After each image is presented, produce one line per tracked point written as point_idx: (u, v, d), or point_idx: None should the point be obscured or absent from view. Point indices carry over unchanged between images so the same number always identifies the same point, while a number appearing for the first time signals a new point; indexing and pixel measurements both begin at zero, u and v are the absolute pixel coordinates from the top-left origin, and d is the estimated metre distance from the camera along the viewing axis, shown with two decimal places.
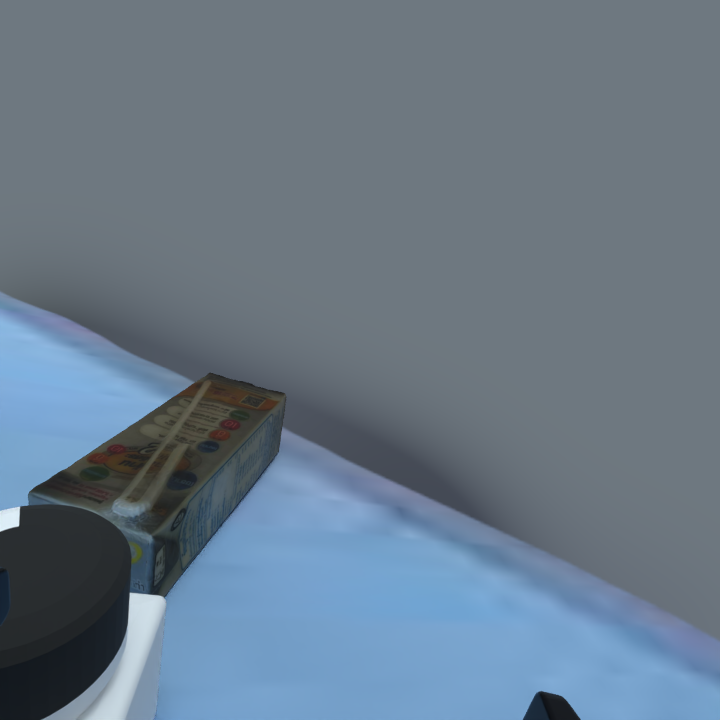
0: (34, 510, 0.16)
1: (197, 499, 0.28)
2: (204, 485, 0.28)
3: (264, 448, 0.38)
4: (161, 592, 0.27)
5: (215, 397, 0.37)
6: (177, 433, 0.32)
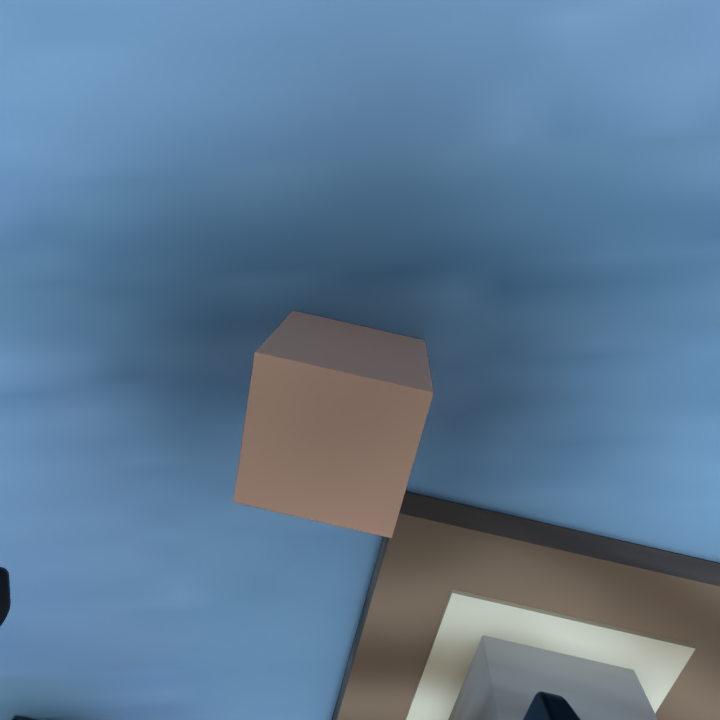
0: None
1: None
2: None
3: None
4: None
5: None
6: None
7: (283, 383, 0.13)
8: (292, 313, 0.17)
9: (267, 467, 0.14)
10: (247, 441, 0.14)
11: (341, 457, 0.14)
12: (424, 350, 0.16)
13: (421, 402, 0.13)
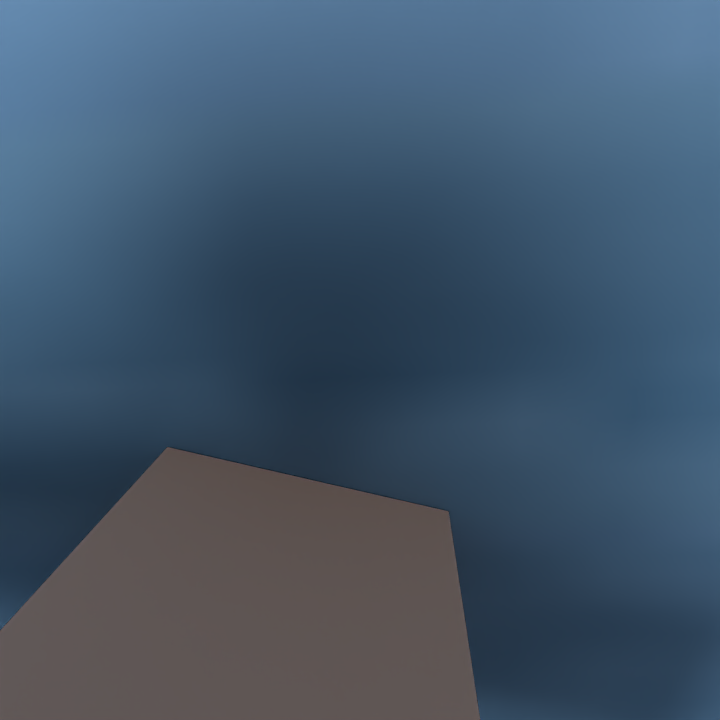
0: None
1: None
2: None
3: None
4: None
5: None
6: None
7: None
8: (158, 463, 0.08)
9: None
10: None
11: None
12: (451, 570, 0.07)
13: None
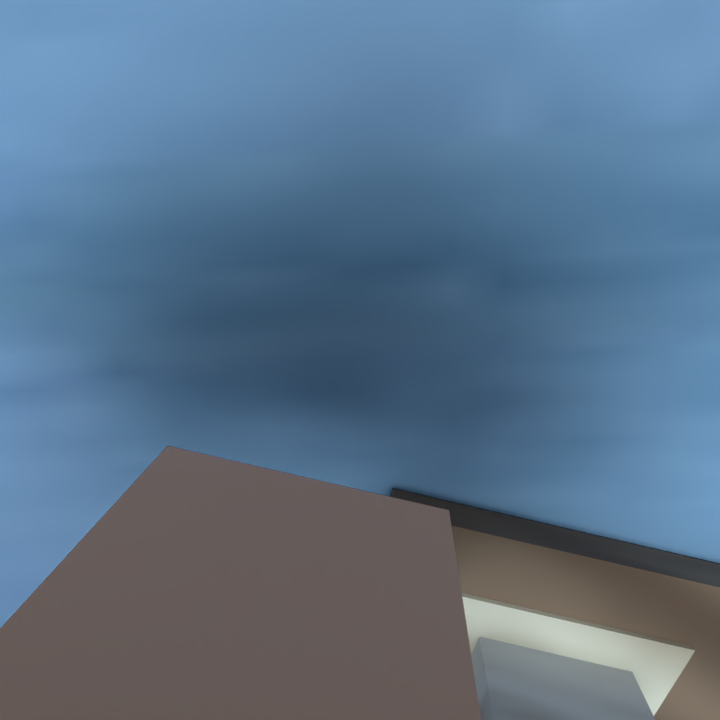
0: None
1: None
2: None
3: None
4: None
5: None
6: None
7: None
8: (158, 461, 0.08)
9: None
10: None
11: None
12: (452, 569, 0.07)
13: None
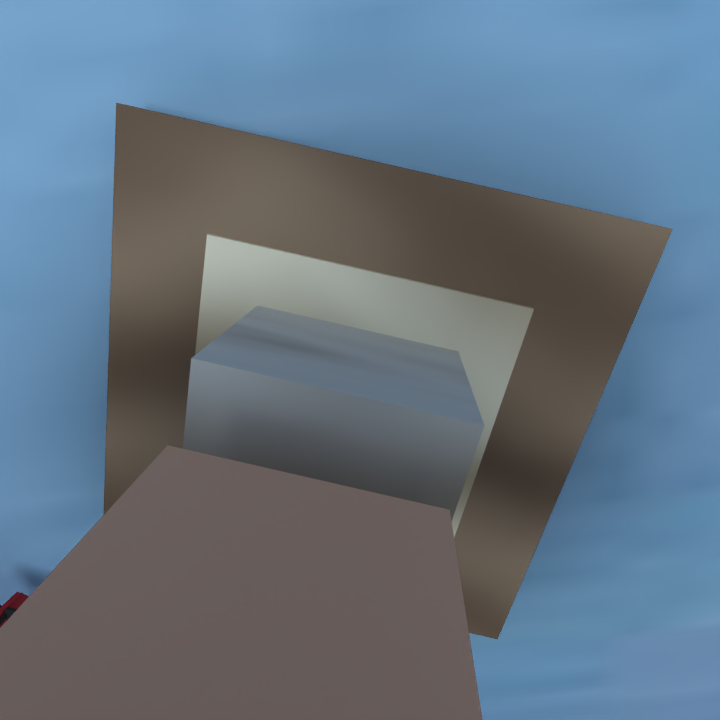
0: None
1: None
2: None
3: None
4: None
5: None
6: None
7: None
8: (158, 461, 0.08)
9: None
10: None
11: None
12: (452, 569, 0.07)
13: None
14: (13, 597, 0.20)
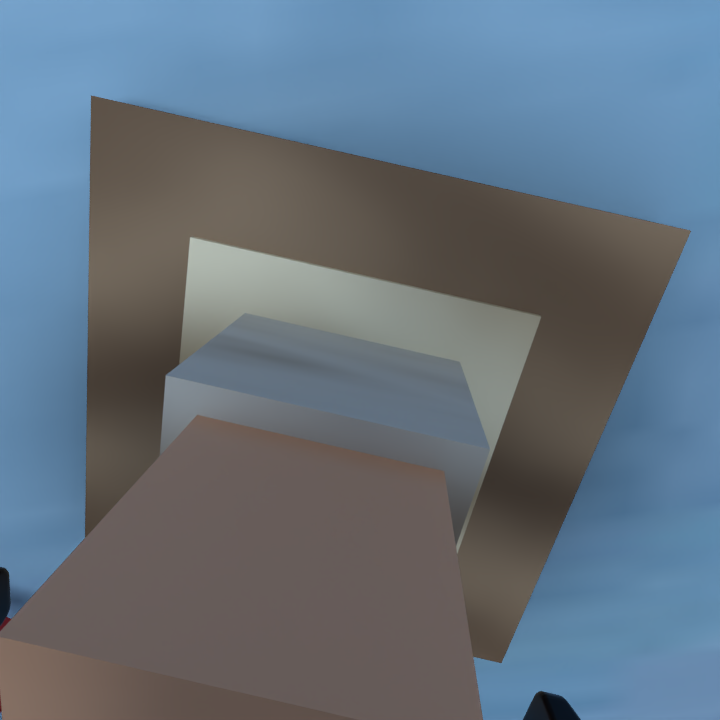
0: None
1: None
2: None
3: None
4: None
5: None
6: None
7: (85, 703, 0.05)
8: (190, 427, 0.09)
9: None
10: None
11: None
12: (445, 515, 0.08)
13: None
14: None
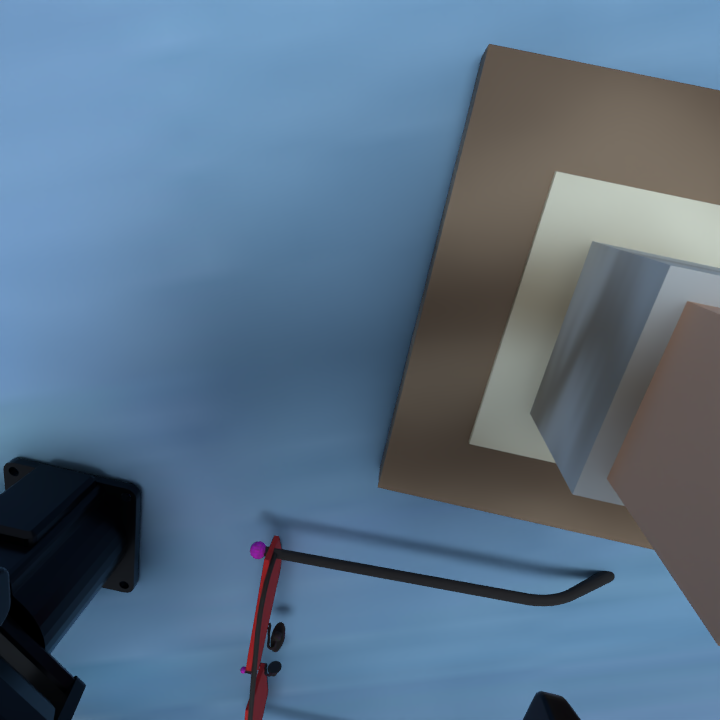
0: None
1: None
2: None
3: None
4: None
5: None
6: None
7: None
8: (702, 306, 0.11)
9: None
10: None
11: None
12: None
13: None
14: (274, 539, 0.21)
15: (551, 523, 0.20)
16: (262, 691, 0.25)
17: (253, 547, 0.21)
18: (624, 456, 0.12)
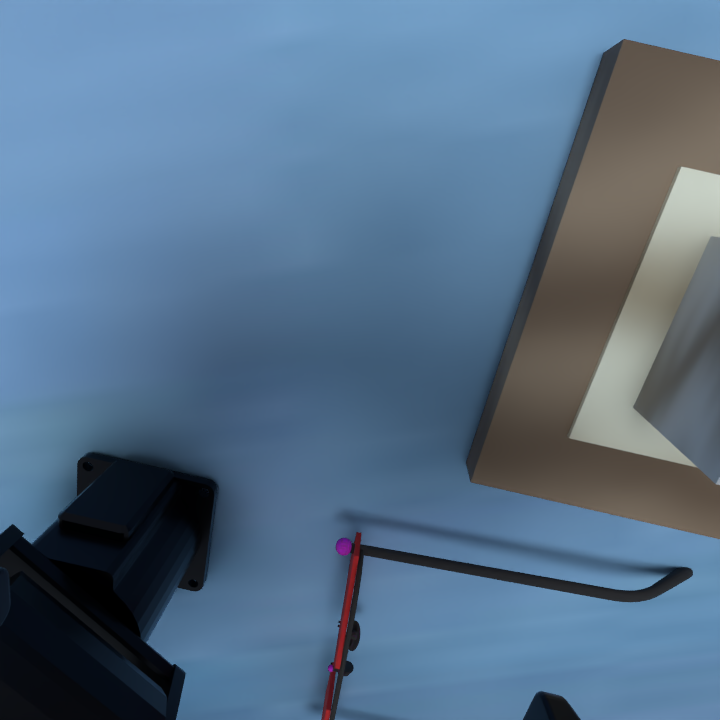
0: None
1: None
2: None
3: None
4: None
5: None
6: None
7: None
8: None
9: None
10: None
11: None
12: None
13: None
14: (357, 536, 0.21)
15: (643, 518, 0.20)
16: None
17: (340, 543, 0.20)
18: None
